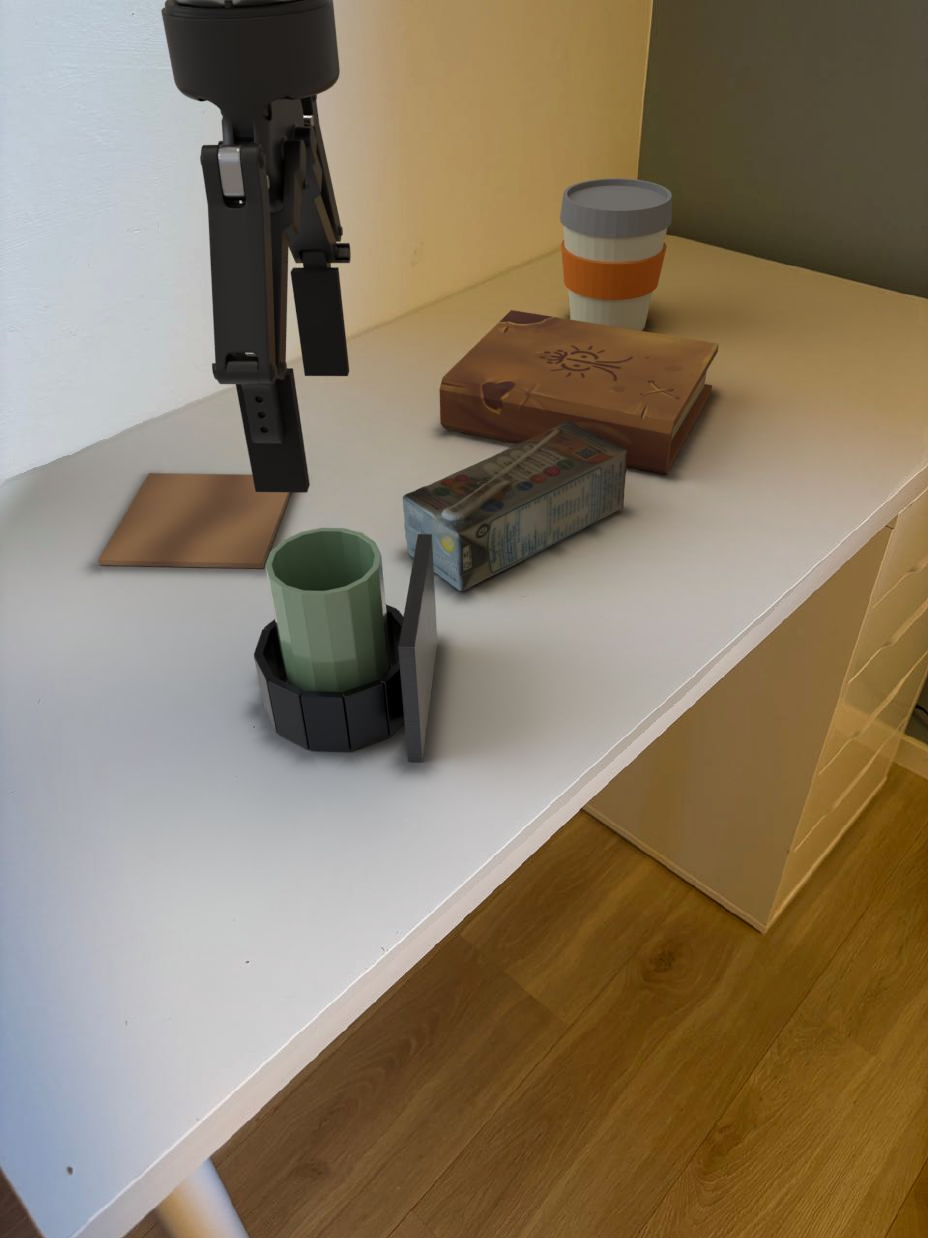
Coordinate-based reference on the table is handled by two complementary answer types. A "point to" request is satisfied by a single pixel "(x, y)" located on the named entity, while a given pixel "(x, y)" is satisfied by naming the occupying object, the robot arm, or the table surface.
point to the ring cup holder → (372, 705)
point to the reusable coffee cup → (613, 248)
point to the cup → (329, 609)
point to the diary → (580, 385)
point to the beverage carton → (516, 503)
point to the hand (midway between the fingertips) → (307, 426)
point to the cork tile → (197, 523)
